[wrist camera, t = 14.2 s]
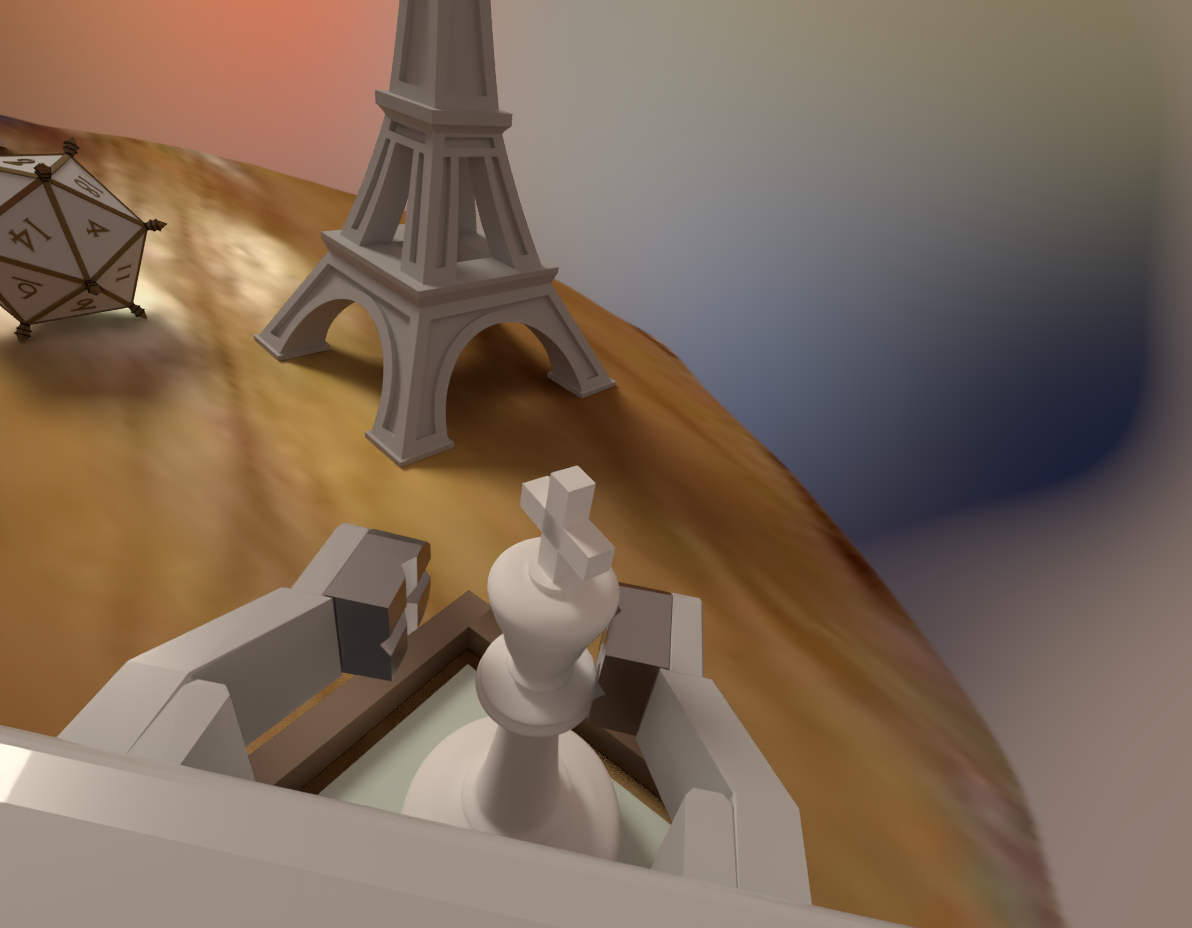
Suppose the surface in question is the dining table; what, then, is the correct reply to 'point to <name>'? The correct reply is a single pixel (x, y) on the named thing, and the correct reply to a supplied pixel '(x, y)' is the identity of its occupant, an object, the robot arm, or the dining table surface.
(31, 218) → the game die
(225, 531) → the dining table surface
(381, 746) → the pad
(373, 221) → the eiffel tower
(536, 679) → the chess piece
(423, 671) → the tray
